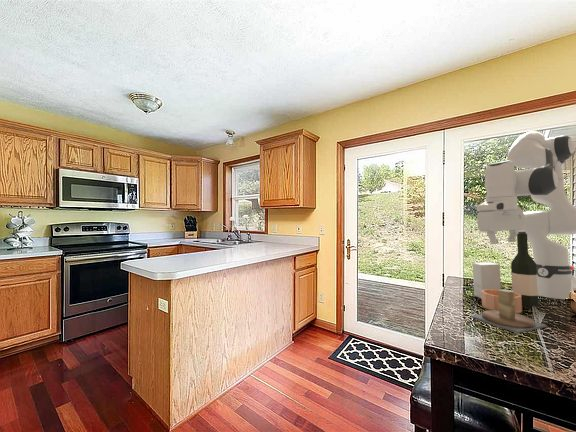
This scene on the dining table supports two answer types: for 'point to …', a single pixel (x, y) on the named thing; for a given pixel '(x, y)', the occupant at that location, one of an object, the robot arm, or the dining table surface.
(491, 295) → the bowl
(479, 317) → the mat
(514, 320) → the lid
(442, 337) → the dining table surface
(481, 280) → the skincare box
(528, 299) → the wine bottle
